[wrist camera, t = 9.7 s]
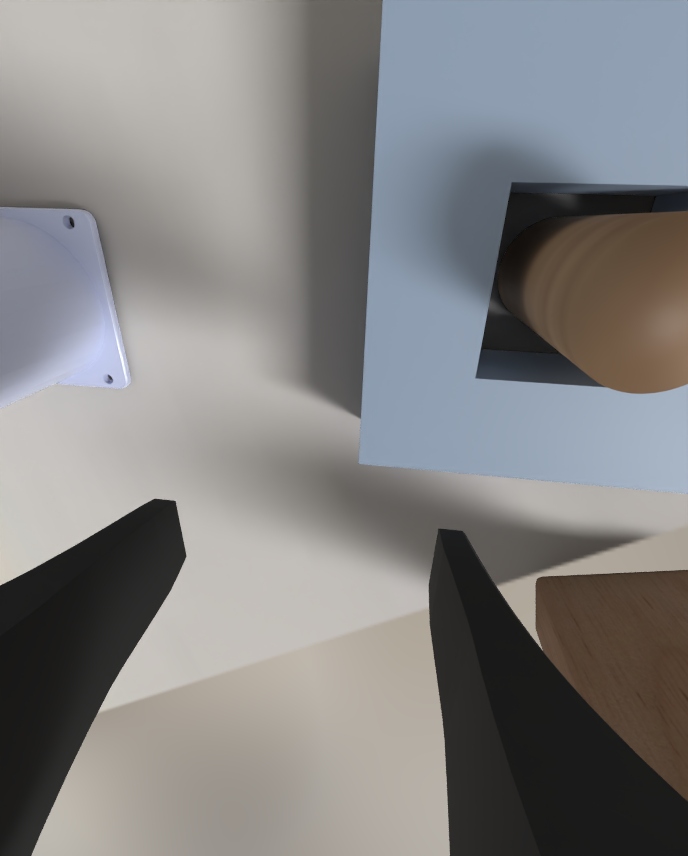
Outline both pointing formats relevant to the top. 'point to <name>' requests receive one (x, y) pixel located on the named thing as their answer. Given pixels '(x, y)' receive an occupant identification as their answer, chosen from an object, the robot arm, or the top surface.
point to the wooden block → (625, 656)
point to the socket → (484, 219)
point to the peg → (606, 295)
